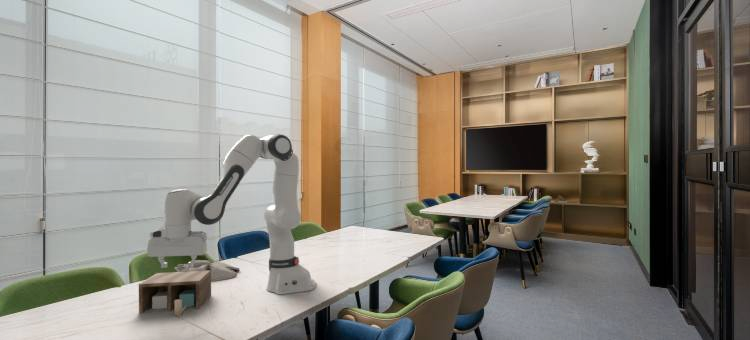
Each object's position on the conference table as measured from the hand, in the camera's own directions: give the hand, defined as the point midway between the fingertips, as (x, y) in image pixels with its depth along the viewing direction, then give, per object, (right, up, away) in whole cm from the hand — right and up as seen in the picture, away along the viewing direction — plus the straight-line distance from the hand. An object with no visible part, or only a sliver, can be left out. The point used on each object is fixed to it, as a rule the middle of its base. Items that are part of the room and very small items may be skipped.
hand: (177, 267), depth 127 cm
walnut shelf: (-6, -18, +10) cm, 22 cm away
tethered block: (-1, -18, +6) cm, 19 cm away
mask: (-12, -19, +46) cm, 51 cm away
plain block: (-11, -18, +9) cm, 23 cm away
